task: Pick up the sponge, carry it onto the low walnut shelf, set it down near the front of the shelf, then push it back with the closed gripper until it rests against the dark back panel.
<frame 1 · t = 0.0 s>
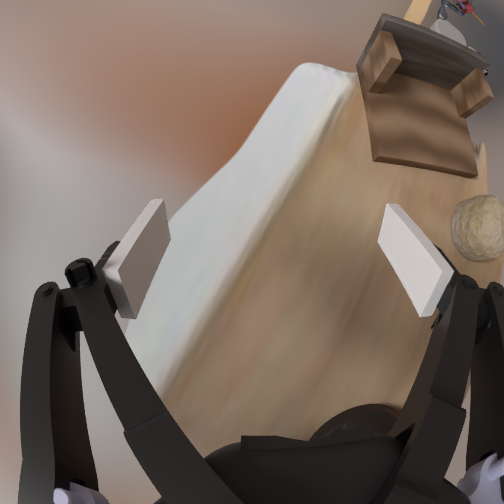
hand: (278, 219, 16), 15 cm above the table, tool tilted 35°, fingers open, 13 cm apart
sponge: (470, 230, 31), on the table
geometric puzzle: (457, 8, 32), on the table
robot toy: (455, 55, 32), on the table
walnut shelf: (418, 119, 31), on the table
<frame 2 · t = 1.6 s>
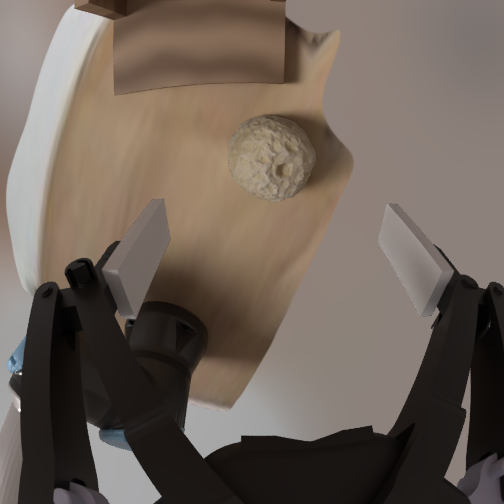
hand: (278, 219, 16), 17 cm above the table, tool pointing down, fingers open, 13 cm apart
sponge: (270, 151, 30), on the table
walnut shelf: (197, 19, 21), on the table
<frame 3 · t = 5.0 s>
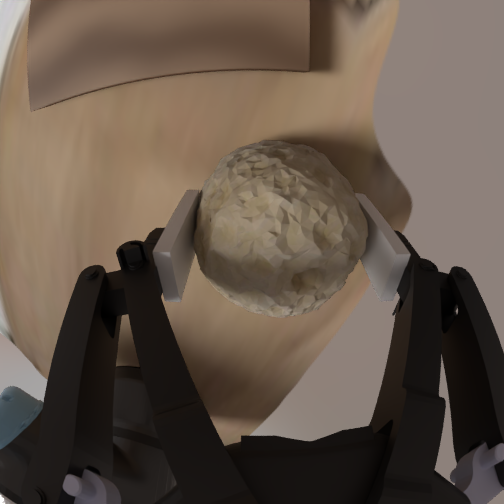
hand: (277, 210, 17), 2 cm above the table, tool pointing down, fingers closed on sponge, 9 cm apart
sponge: (276, 207, 17), point 1 cm above the table, touching gripper
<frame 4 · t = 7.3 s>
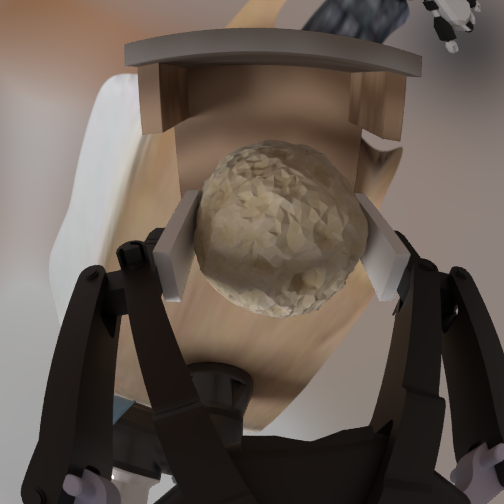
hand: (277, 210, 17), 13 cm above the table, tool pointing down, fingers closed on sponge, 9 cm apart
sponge: (276, 207, 17), point 12 cm above the table, touching gripper
walnut shelf: (268, 128, 26), on the table
when the fingers open (3 cm above the table, at t = 9.5 s): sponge stays where it is, resting on walnut shelf.
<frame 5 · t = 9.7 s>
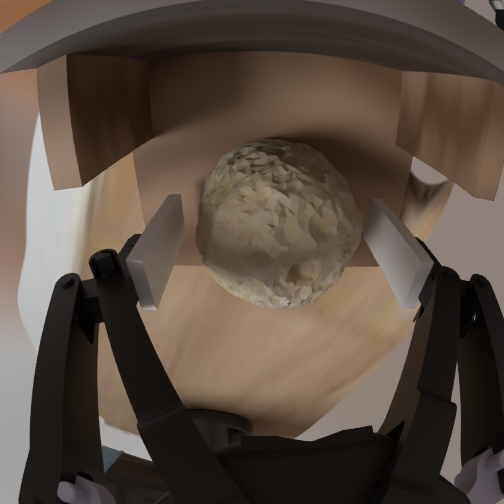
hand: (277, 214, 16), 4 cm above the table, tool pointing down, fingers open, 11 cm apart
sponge: (275, 203, 18), point 2 cm above the table, touching walnut shelf
walnut shelf: (275, 150, 17), on the table
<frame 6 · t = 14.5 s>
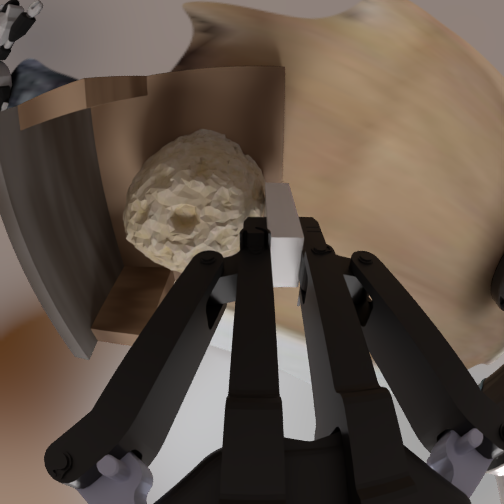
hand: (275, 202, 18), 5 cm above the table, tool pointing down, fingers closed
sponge: (204, 187, 20), point 2 cm above the table, touching gripper
robot toy: (3, 63, 13), on the table
walnut shelf: (182, 180, 22), on the table
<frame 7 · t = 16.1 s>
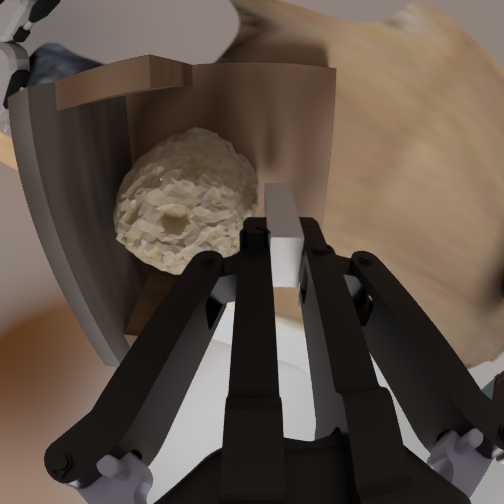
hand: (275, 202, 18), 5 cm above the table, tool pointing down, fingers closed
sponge: (197, 187, 20), point 2 cm above the table, touching walnut shelf
robot toy: (19, 47, 13), on the table
walnut shelf: (221, 177, 21), on the table
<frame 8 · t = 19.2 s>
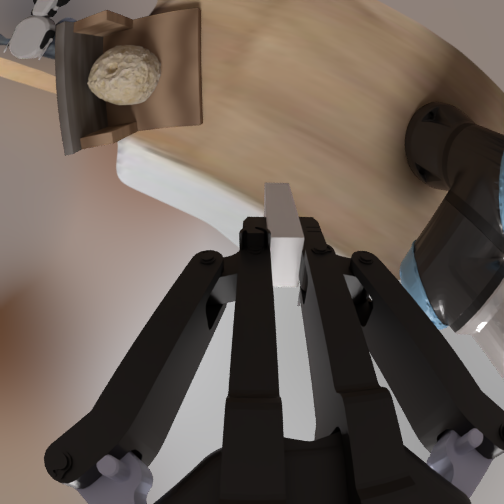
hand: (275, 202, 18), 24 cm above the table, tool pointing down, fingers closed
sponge: (133, 74, 30), point 2 cm above the table, touching walnut shelf
robot toy: (48, 21, 23), on the table
walnut shelf: (148, 72, 32), on the table
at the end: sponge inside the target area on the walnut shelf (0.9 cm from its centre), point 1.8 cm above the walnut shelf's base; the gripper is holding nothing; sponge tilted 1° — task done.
